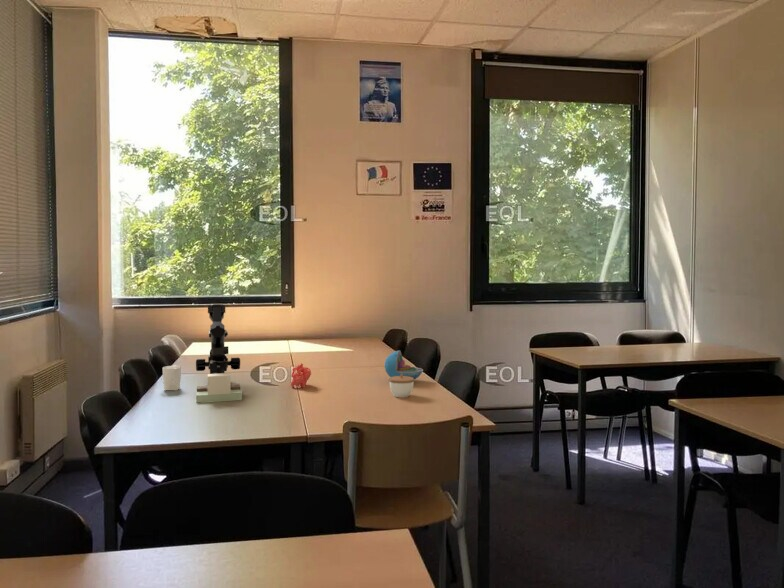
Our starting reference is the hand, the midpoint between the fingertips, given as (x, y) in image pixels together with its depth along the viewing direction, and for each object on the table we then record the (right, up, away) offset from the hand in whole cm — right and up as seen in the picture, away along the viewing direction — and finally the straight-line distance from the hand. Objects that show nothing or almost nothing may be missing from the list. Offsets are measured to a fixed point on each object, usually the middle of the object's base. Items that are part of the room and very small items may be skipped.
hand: (218, 380), depth 261 cm
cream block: (+3, -4, -10) cm, 11 cm away
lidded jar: (+79, -7, 0) cm, 79 cm away
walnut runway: (0, -6, 0) cm, 6 cm away
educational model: (+81, -5, +31) cm, 87 cm away
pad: (+3, -7, -9) cm, 12 cm away
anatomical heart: (+33, -6, +18) cm, 38 cm away
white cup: (-24, -6, +9) cm, 26 cm away
